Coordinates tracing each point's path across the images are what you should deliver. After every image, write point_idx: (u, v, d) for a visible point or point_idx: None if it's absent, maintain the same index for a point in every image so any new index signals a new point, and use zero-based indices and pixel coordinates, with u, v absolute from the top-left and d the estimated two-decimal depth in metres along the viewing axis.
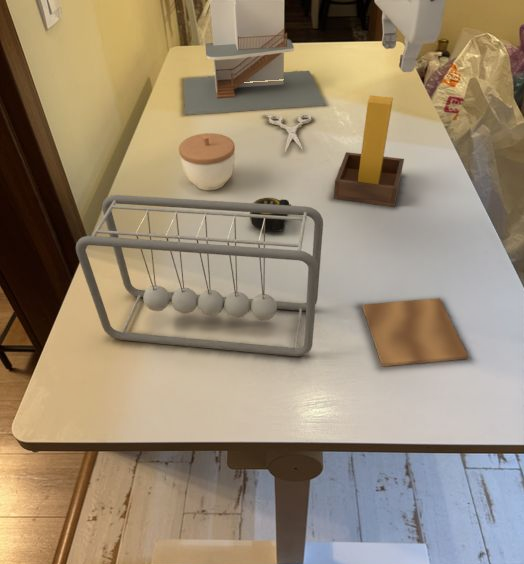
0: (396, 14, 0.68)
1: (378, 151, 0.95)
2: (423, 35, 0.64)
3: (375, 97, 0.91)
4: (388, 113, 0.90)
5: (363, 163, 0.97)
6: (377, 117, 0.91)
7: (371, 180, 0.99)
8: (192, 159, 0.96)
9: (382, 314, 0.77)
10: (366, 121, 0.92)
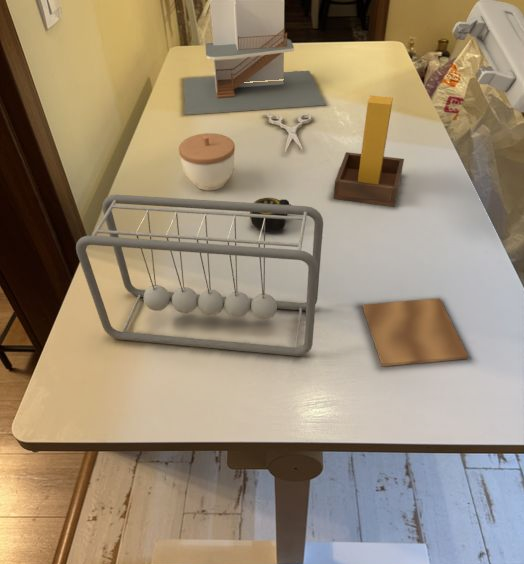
0: None
1: (378, 151, 0.95)
2: None
3: (375, 97, 0.91)
4: (388, 113, 0.90)
5: (363, 163, 0.97)
6: (377, 117, 0.91)
7: (371, 180, 0.99)
8: (192, 159, 0.96)
9: (382, 314, 0.77)
10: (366, 121, 0.92)
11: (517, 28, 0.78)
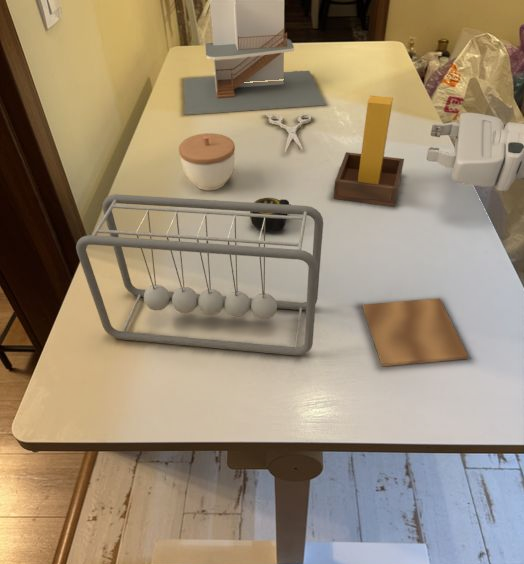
0: None
1: (378, 151, 0.95)
2: None
3: (375, 97, 0.91)
4: (388, 113, 0.90)
5: (363, 163, 0.97)
6: (377, 117, 0.91)
7: (371, 180, 0.99)
8: (192, 159, 0.96)
9: (382, 314, 0.77)
10: (366, 121, 0.92)
11: (487, 129, 0.92)
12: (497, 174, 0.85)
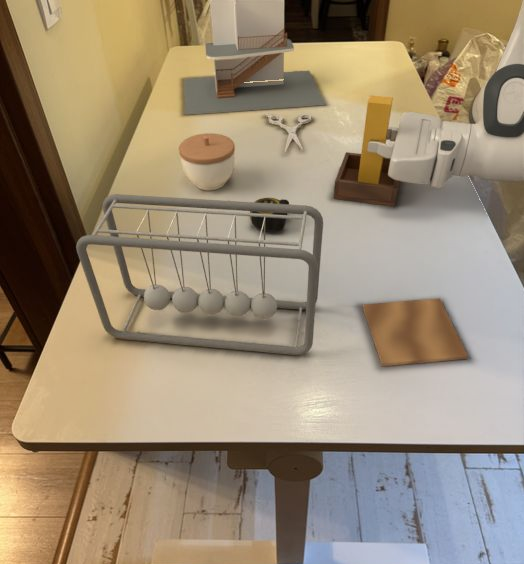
0: None
1: None
2: None
3: (375, 97, 0.91)
4: (388, 113, 0.90)
5: (363, 162, 0.97)
6: (377, 117, 0.91)
7: (371, 180, 0.99)
8: (192, 159, 0.96)
9: (382, 314, 0.77)
10: (366, 121, 0.92)
11: (425, 128, 0.95)
12: (431, 171, 0.88)
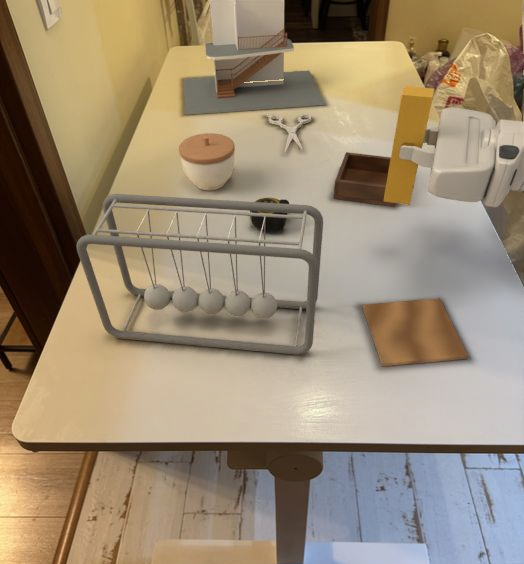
0: None
1: None
2: None
3: (411, 87, 0.69)
4: (428, 109, 0.68)
5: (393, 172, 0.76)
6: (414, 114, 0.69)
7: (402, 195, 0.78)
8: (192, 159, 0.96)
9: (382, 314, 0.77)
10: (398, 119, 0.71)
11: (474, 129, 0.73)
12: (485, 186, 0.66)
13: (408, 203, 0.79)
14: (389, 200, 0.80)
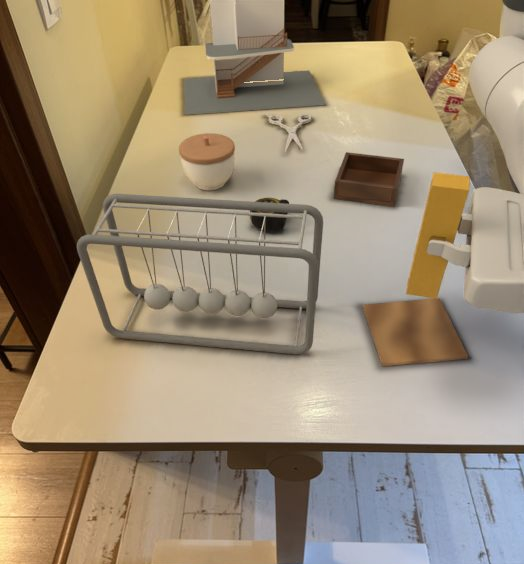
0: None
1: None
2: None
3: (442, 175, 0.59)
4: (463, 202, 0.58)
5: (418, 265, 0.65)
6: (445, 207, 0.59)
7: (428, 288, 0.67)
8: (192, 159, 0.96)
9: (382, 314, 0.77)
10: (427, 211, 0.60)
11: (514, 218, 0.63)
12: None
13: (435, 297, 0.68)
14: (413, 293, 0.69)
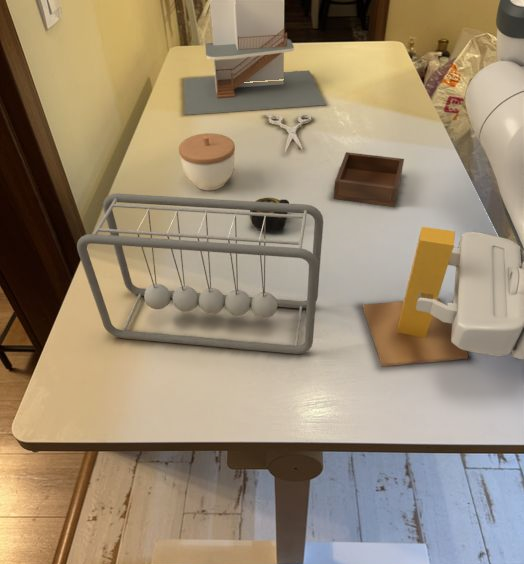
0: None
1: None
2: None
3: (429, 230, 0.64)
4: (449, 255, 0.63)
5: (408, 308, 0.70)
6: (432, 259, 0.64)
7: (418, 328, 0.73)
8: (192, 159, 0.96)
9: (382, 314, 0.77)
10: (416, 262, 0.65)
11: (499, 263, 0.67)
12: (515, 341, 0.60)
13: (424, 336, 0.73)
14: (403, 332, 0.74)
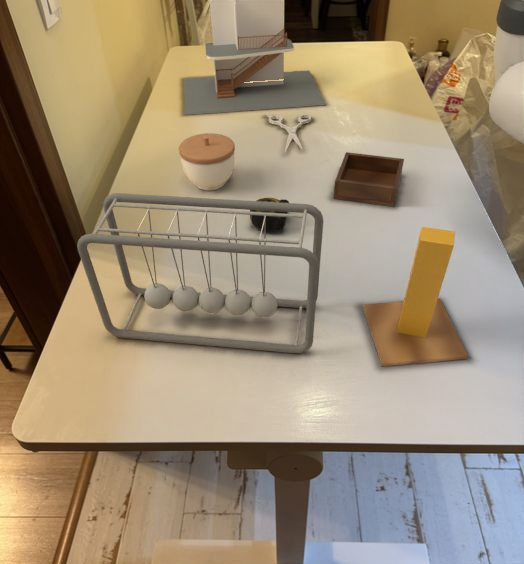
0: None
1: (430, 297, 0.68)
2: None
3: (429, 230, 0.64)
4: (449, 255, 0.63)
5: (408, 308, 0.70)
6: (432, 259, 0.64)
7: (418, 328, 0.73)
8: (192, 159, 0.96)
9: (382, 314, 0.77)
10: (416, 262, 0.65)
11: None
12: None
13: (424, 336, 0.73)
14: (403, 332, 0.74)
